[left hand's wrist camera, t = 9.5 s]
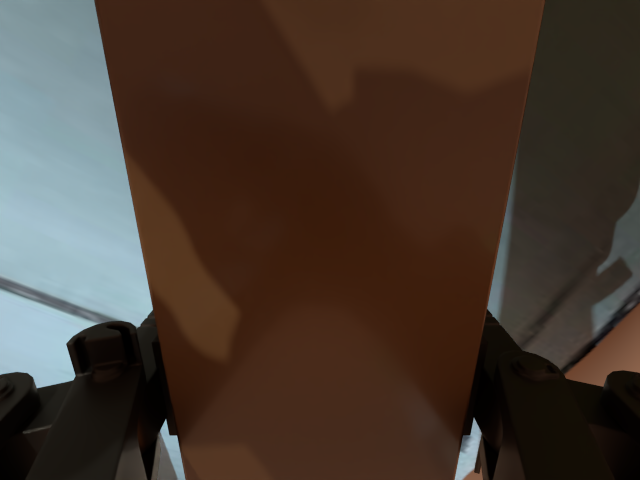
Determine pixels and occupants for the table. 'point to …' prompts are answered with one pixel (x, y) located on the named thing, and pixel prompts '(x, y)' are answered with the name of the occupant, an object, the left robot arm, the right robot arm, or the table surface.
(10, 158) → the table surface
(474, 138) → the bar
